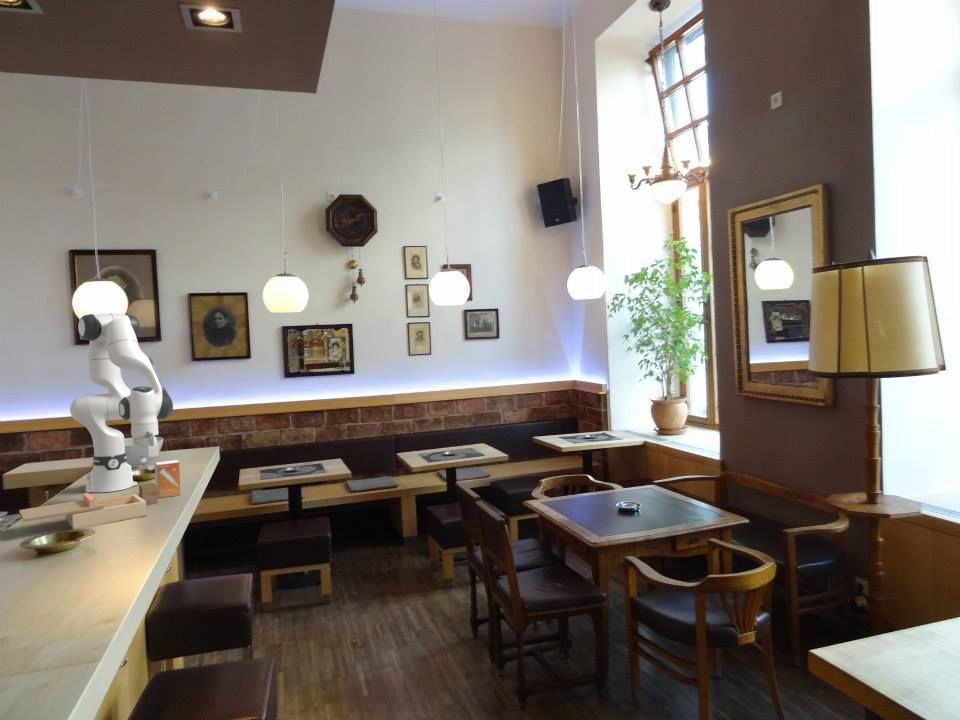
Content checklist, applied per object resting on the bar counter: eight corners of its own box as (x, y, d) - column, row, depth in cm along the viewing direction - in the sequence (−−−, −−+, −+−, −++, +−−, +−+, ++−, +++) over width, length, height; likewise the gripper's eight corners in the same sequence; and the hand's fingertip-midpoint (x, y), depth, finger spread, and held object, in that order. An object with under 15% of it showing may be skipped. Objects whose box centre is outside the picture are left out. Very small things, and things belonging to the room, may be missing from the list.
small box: (158, 498, 258) (156, 464, 257) (156, 495, 263) (154, 462, 262) (181, 495, 262) (179, 461, 261) (178, 492, 267) (176, 459, 267)
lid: (19, 512, 222) (18, 502, 222) (95, 500, 236) (94, 490, 236) (24, 521, 211) (23, 511, 211) (103, 508, 225) (103, 498, 225)
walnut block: (139, 503, 251) (138, 484, 251) (154, 501, 254) (153, 482, 254) (143, 506, 247) (142, 487, 247) (157, 503, 250) (156, 484, 250)
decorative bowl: (106, 464, 331) (105, 439, 330) (166, 458, 340) (165, 434, 340) (97, 474, 306) (95, 448, 305) (162, 468, 315) (160, 443, 315)
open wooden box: (65, 520, 231) (65, 505, 231) (136, 507, 245) (135, 494, 244) (73, 529, 219) (72, 514, 219) (146, 515, 233) (146, 501, 233)
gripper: (161, 432, 243) (164, 470, 244) (147, 427, 259) (149, 463, 259) (142, 434, 239) (145, 473, 240) (129, 429, 255) (131, 466, 255)
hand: (147, 468), depth 250 cm, fingers open, 8 cm apart
